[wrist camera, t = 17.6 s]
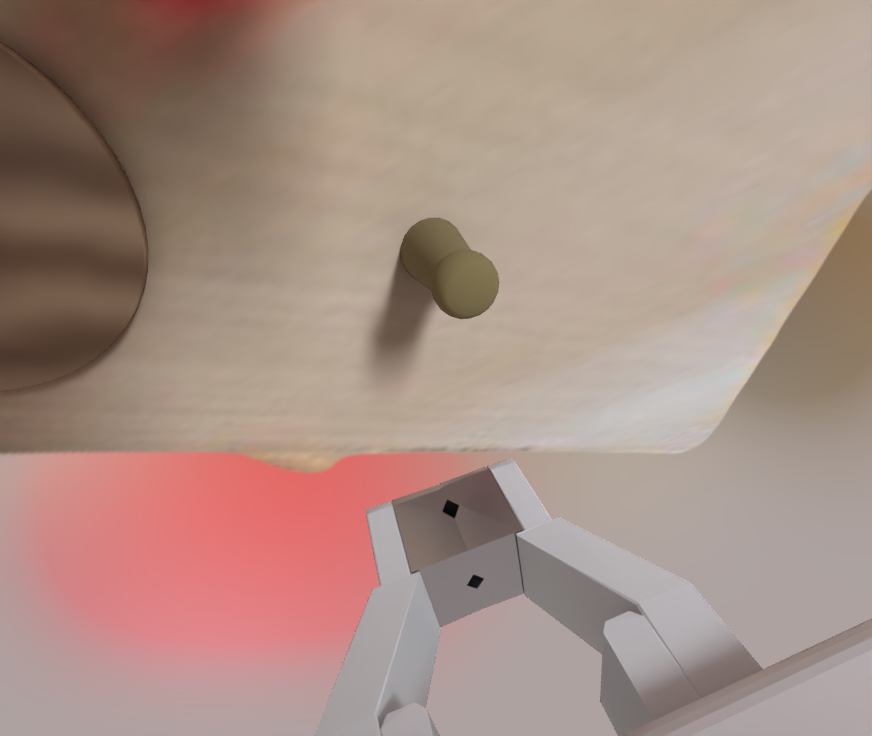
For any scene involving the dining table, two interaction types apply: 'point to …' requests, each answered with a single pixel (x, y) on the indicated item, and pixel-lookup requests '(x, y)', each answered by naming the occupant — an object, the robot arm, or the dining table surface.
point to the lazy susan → (60, 233)
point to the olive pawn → (449, 268)
